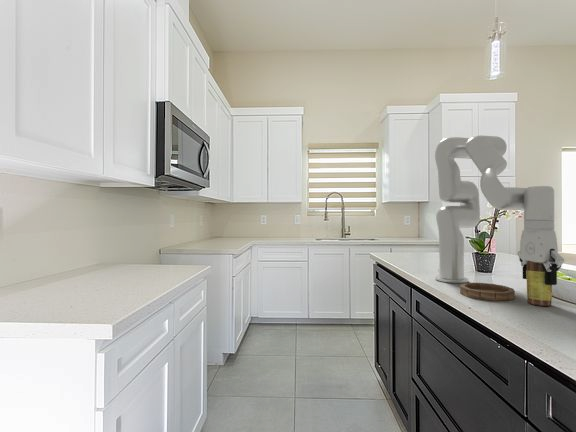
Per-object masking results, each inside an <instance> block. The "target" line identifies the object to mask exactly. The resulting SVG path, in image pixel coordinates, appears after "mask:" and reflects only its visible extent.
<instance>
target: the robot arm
mask: <svg viewBox="0 0 576 432" xmlns="http://www.w3.org/2000/svg"><path fill="white" fill-rule="evenodd" d="M507 145H508V144H507V142H506V141H505V140H504V138H502V137H500V136H496V135H475V136H473V137H459V136H452V137H451V136H450V137H446V138H443V139H442V140H440V142H438V144H437V145H436V147H435V152H434V159H435V165H436V169H437V182H438V183H437V184H438V195H439V199H440V200H441V202H443V203H447V204H448V203H451V204H455V203H456V204H460V205H445V206H442V207H441V208H439V209H438V210H437V212H436V215H435V216H436V217H435V218H436V223H437V229H438V230H437V231H438V269H437V272H438V275H435V277H434V278H435V279H434V280H435V281H439V282H442V283H443V282H444V283H451V284H463V283H469V278H468V277H466V276H465V238H464V235H463V232H462V231H461V229H471V228H475V227H476V226H478V224H479V222H480V219H481V208H480V205H481V204H480V194H479V188H478V186H477V185H476V184H475V183H474V182H472V181H469V180H462V178H461V169H460V167H459V164H458V163H457V162H456V160H455V159H467V160H471V161H472V162H473V164H474V165H475V166H476V168H477V169H478V170H479V172H480V174H481V176H480V181H479V184H480V185H479V186H480V191H481V194H482V195H483V196H484V198H485V199H486V201H487V202H488V204H489V205H490V206H491V207H493V208H494V209H496V210H499V211H523V229H522V230H521V231H522V232H521V235H520V241H519V251H517V256H518V258H519V262H520V263H521V264H520V265H521V267H522V279H523V280H527V278H526V270H527V261H532V262H534V263H543V264H544V266H545V268H546V270H547V271H545V284H546V285H552V286H556V285H557V284H558V272H559V271H560V269H561V268H562V265H563V263H564V261H565V259H564V257H562V256H561V255H560V254H559V249H558V248H559V247H558V238H557V234H556V230H555V189H554V188H553V187H552V186H549V185H537V186H527V187H512V186H511V187H509V186H504V185H503V184H502V183H501V181H500V180H499V178H498V175H500V174H502V173H503V171H505V169H506V168H507V166H508V163H507V160H506V159H505V157H503V156H505V154H506V153H507V148H508V147H507ZM549 264H550V265H551V266H549Z"/></svg>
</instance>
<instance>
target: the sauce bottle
mask: <svg viewBox="0 0 576 432" xmlns="http://www.w3.org/2000/svg"><path fill="white" fill-rule="evenodd" d="M549 266H551V264H549ZM545 271H547V270H546V268H545V266H544V264H543V263H534V262H532V261H527V270H526V278H527V279H526V298H527V303H529V304H530V305H534V306H538V307H549V306H551V305H552V301H553V285H546V284H545Z"/></svg>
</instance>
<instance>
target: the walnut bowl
mask: <svg viewBox="0 0 576 432" xmlns="http://www.w3.org/2000/svg"><path fill="white" fill-rule="evenodd" d="M459 286H460V287H459V292H460V293H459V294H461V295H462V296H465V297H468V298H471V299H475V300H482V301H493V302H509V301H513V300H515V297H516V290H515V289H514V288H513V287H510V286H507V285H501V284H495V283H490V282H489V283H486V282H466V283H459Z"/></svg>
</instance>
